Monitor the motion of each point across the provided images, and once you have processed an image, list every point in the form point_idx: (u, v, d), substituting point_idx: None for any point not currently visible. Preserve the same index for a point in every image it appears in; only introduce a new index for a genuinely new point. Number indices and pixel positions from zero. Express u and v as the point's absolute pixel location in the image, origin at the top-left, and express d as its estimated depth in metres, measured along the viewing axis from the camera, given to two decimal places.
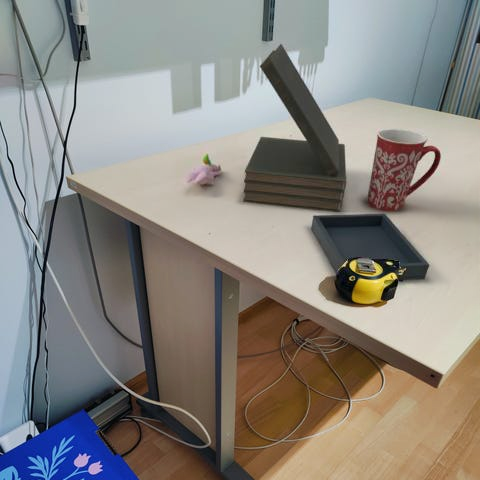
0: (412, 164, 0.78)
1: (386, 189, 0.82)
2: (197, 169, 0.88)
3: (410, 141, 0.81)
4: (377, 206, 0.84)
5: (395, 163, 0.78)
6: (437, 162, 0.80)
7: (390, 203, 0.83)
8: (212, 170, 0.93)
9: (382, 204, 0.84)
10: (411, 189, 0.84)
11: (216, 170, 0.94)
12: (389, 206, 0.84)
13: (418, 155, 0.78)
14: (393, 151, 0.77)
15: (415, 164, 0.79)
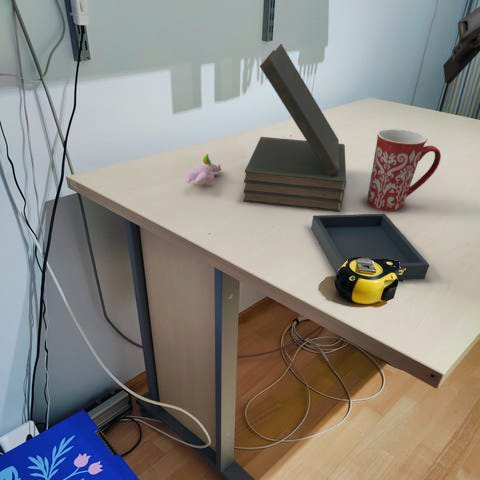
0: (412, 164, 0.78)
1: (386, 189, 0.82)
2: (197, 169, 0.88)
3: (410, 141, 0.81)
4: (377, 206, 0.84)
5: (395, 163, 0.78)
6: (437, 162, 0.80)
7: (390, 203, 0.83)
8: (212, 170, 0.93)
9: (382, 204, 0.84)
10: (411, 189, 0.84)
11: (216, 170, 0.94)
12: (389, 206, 0.84)
13: (418, 155, 0.78)
14: (393, 151, 0.77)
15: (415, 164, 0.79)
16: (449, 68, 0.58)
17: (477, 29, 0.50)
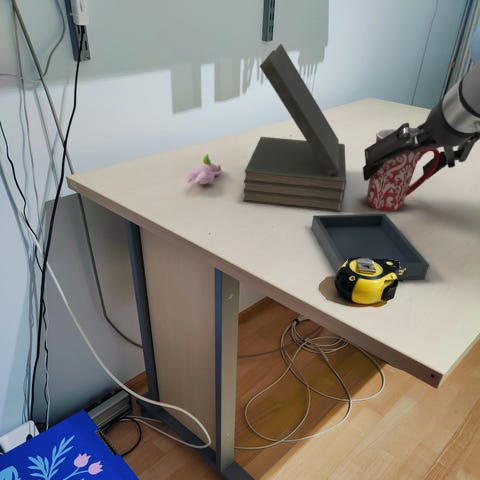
0: (411, 164, 0.78)
1: (385, 189, 0.82)
2: (197, 169, 0.88)
3: None
4: (376, 206, 0.85)
5: (394, 163, 0.78)
6: (436, 162, 0.80)
7: (389, 203, 0.83)
8: (212, 170, 0.93)
9: (382, 204, 0.84)
10: (410, 189, 0.84)
11: (216, 170, 0.94)
12: (388, 206, 0.84)
13: (417, 155, 0.78)
14: None
15: (414, 164, 0.79)
16: (365, 171, 0.83)
17: (374, 157, 0.75)
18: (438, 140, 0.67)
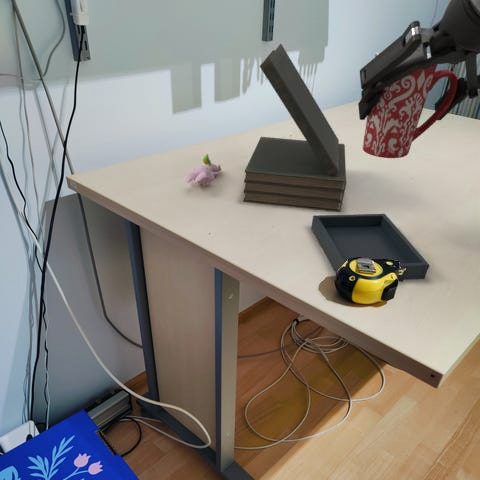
0: (421, 92, 0.60)
1: (387, 128, 0.63)
2: (197, 169, 0.88)
3: None
4: (375, 152, 0.66)
5: (399, 90, 0.60)
6: (453, 92, 0.62)
7: (392, 147, 0.65)
8: (212, 170, 0.93)
9: (382, 149, 0.65)
10: (419, 130, 0.66)
11: (216, 170, 0.94)
12: (391, 152, 0.65)
13: (429, 79, 0.59)
14: None
15: (425, 93, 0.61)
16: (362, 107, 0.65)
17: (372, 78, 0.56)
18: (460, 41, 0.48)
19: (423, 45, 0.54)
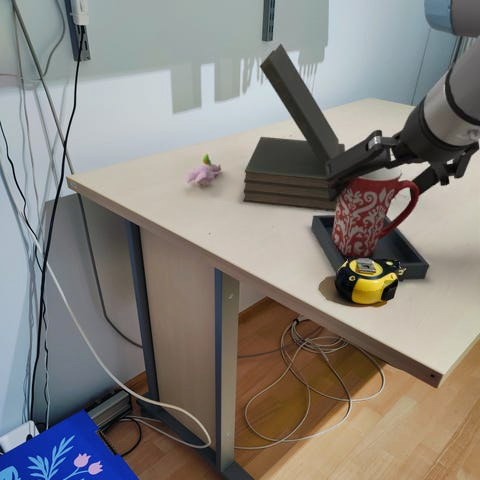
0: (383, 204, 0.63)
1: (352, 233, 0.66)
2: (197, 169, 0.88)
3: (382, 174, 0.66)
4: (342, 252, 0.69)
5: (362, 203, 0.62)
6: (415, 200, 0.65)
7: (358, 249, 0.67)
8: (212, 170, 0.93)
9: (348, 250, 0.68)
10: (384, 231, 0.68)
11: (216, 170, 0.94)
12: (357, 252, 0.68)
13: (390, 193, 0.62)
14: (359, 188, 0.61)
15: (387, 204, 0.63)
16: (330, 190, 0.65)
17: (337, 174, 0.57)
18: (419, 154, 0.49)
19: None
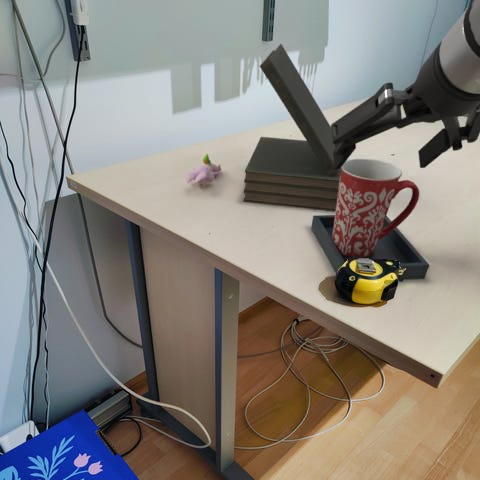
0: (383, 204, 0.63)
1: (352, 233, 0.66)
2: (197, 169, 0.88)
3: (382, 174, 0.66)
4: (342, 252, 0.69)
5: (362, 203, 0.62)
6: (415, 200, 0.65)
7: (358, 249, 0.67)
8: (212, 170, 0.93)
9: (348, 250, 0.68)
10: (384, 231, 0.68)
11: (216, 170, 0.94)
12: (357, 252, 0.68)
13: (390, 193, 0.62)
14: (359, 188, 0.61)
15: (387, 204, 0.63)
16: (336, 157, 0.62)
17: (344, 135, 0.53)
18: (434, 107, 0.46)
19: (397, 103, 0.51)
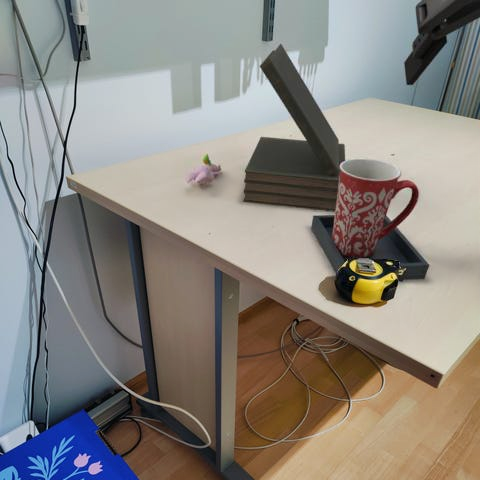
0: (383, 204, 0.63)
1: (352, 233, 0.66)
2: (197, 169, 0.88)
3: (381, 174, 0.66)
4: (342, 252, 0.69)
5: (361, 203, 0.62)
6: (415, 200, 0.65)
7: (358, 249, 0.67)
8: (212, 170, 0.93)
9: (348, 250, 0.68)
10: (384, 231, 0.68)
11: (216, 170, 0.94)
12: (357, 253, 0.68)
13: (390, 193, 0.62)
14: (358, 189, 0.61)
15: (387, 204, 0.63)
16: (410, 66, 0.47)
17: (439, 14, 0.38)
18: None
19: None
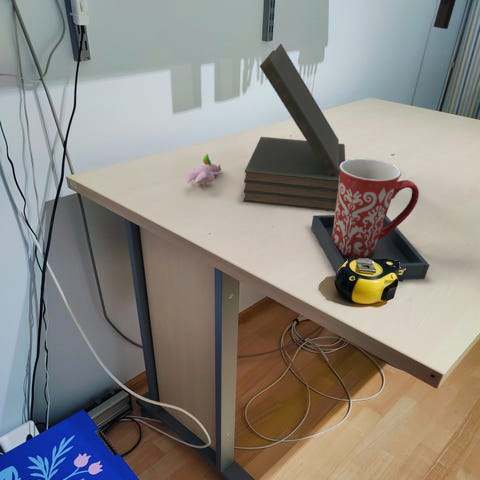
0: (383, 204, 0.63)
1: (352, 233, 0.66)
2: (197, 169, 0.88)
3: (381, 174, 0.66)
4: (342, 252, 0.69)
5: (361, 203, 0.62)
6: (415, 200, 0.65)
7: (358, 249, 0.67)
8: (212, 170, 0.93)
9: (348, 250, 0.68)
10: (384, 231, 0.68)
11: (216, 170, 0.94)
12: (357, 253, 0.68)
13: (390, 193, 0.62)
14: (358, 189, 0.61)
15: (387, 204, 0.63)
16: (440, 17, 0.60)
17: None
18: None
19: None
